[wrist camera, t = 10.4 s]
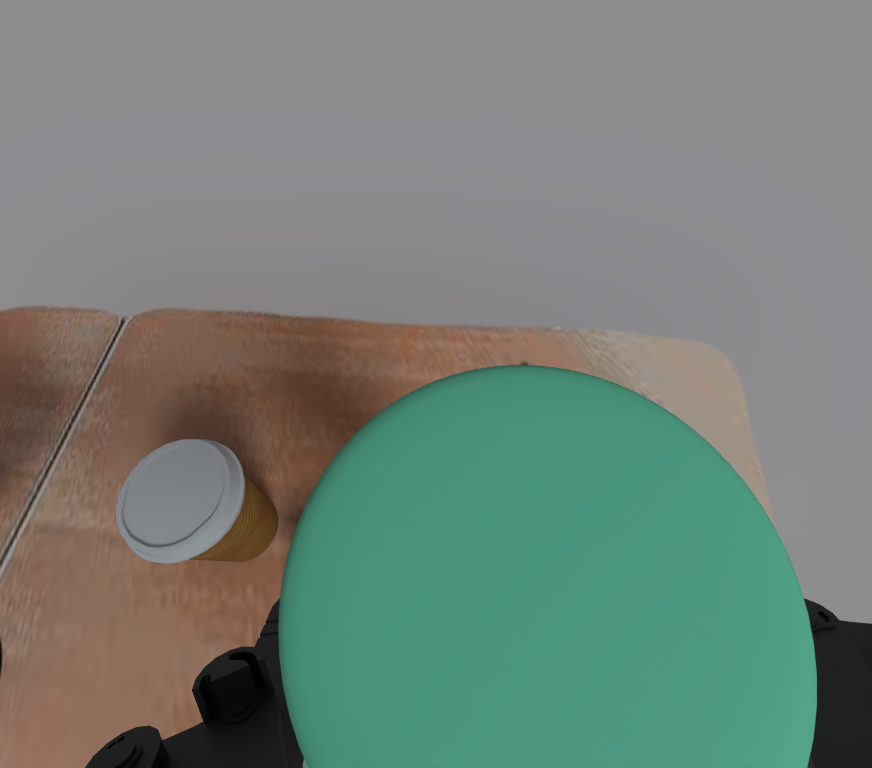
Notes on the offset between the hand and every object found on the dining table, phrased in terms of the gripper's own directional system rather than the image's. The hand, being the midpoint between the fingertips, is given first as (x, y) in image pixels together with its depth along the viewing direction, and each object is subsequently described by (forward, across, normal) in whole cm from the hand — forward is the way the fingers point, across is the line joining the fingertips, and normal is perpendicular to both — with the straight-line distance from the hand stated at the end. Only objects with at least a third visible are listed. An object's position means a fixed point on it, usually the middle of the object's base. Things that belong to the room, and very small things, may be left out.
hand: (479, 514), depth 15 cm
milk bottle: (+4, 0, -9) cm, 9 cm away
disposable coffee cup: (+27, -22, -13) cm, 37 cm away
